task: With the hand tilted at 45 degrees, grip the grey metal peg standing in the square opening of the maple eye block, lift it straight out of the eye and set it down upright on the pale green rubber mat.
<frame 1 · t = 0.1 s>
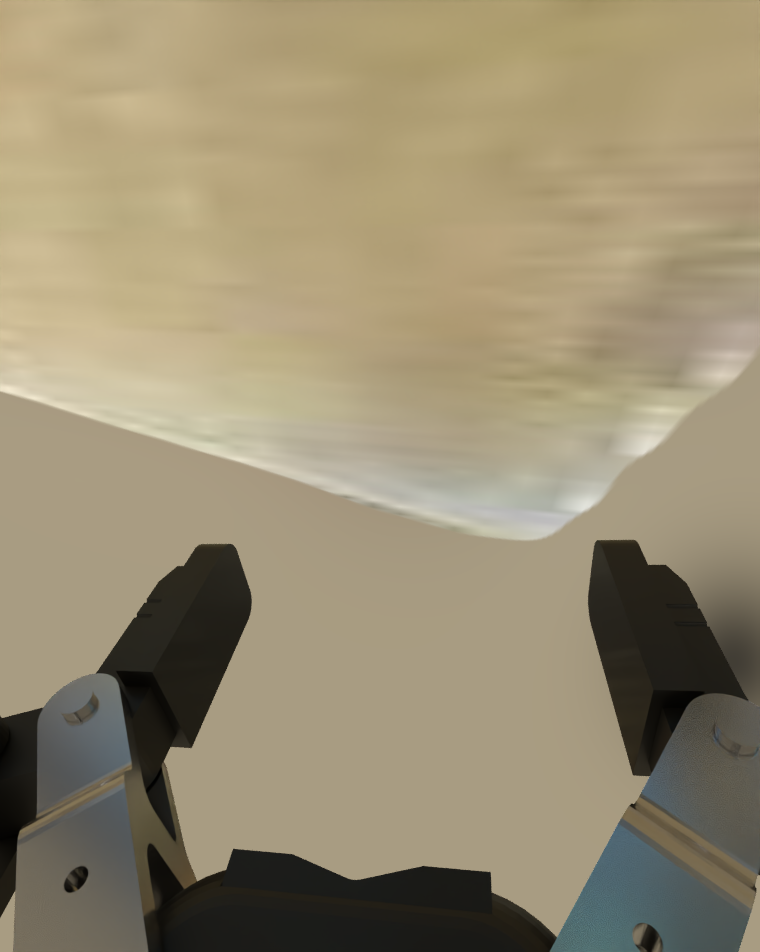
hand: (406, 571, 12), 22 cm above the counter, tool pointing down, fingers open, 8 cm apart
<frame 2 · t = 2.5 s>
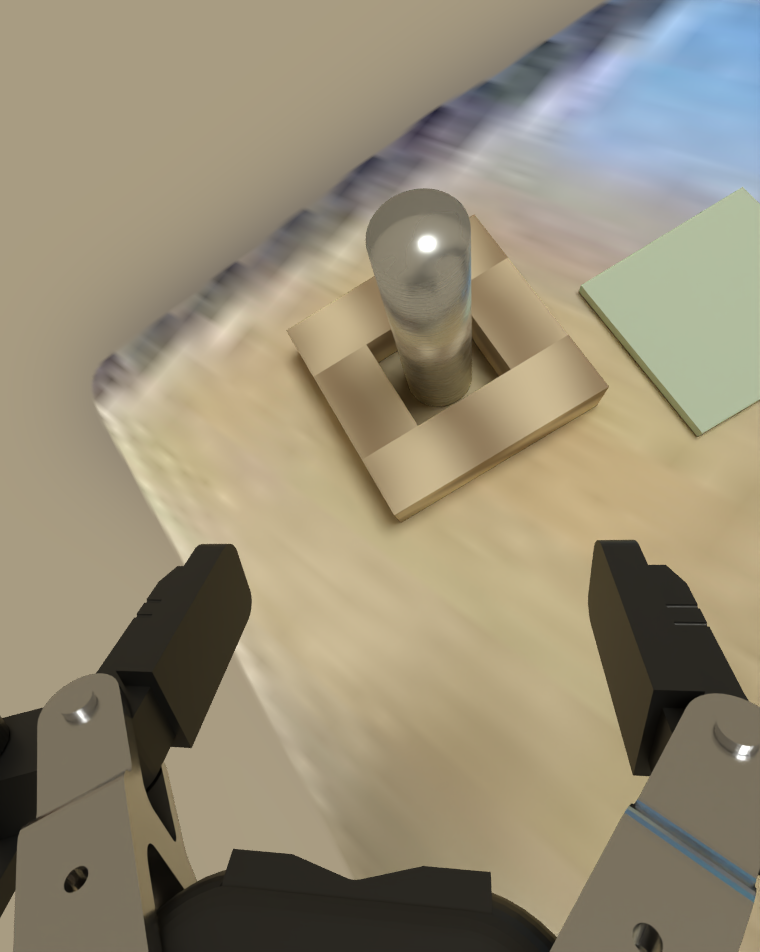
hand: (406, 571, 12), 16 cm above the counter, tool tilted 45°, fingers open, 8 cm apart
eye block: (439, 376, 29), on the counter
mat: (718, 310, 28), on the counter
peg: (431, 322, 24), in the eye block
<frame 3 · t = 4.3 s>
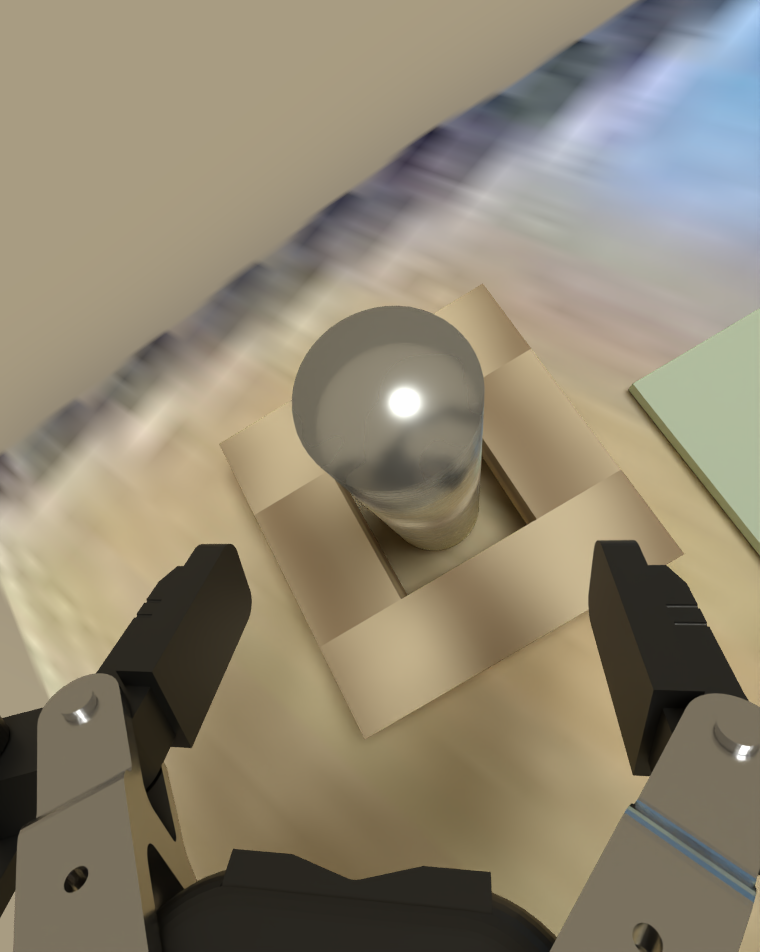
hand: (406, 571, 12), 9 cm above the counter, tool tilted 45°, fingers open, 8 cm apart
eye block: (433, 505, 21), on the counter
peg: (418, 470, 15), in the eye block
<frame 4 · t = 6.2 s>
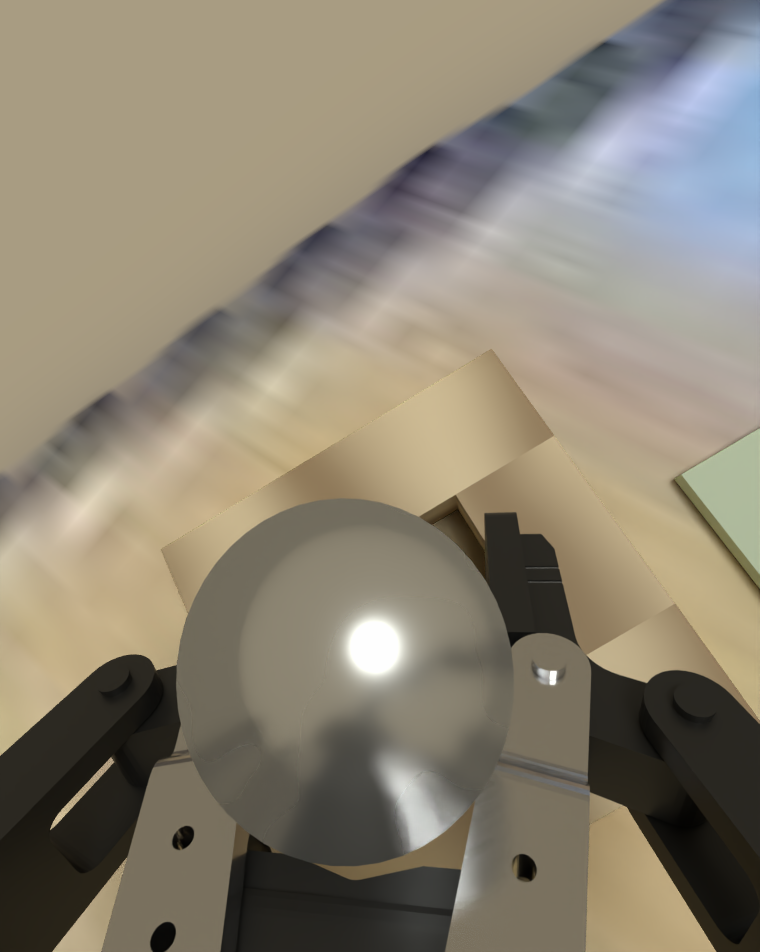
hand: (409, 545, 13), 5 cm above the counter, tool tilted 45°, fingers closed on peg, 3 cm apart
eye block: (430, 622, 17), on the counter
peg: (406, 633, 11), in the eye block, touching gripper
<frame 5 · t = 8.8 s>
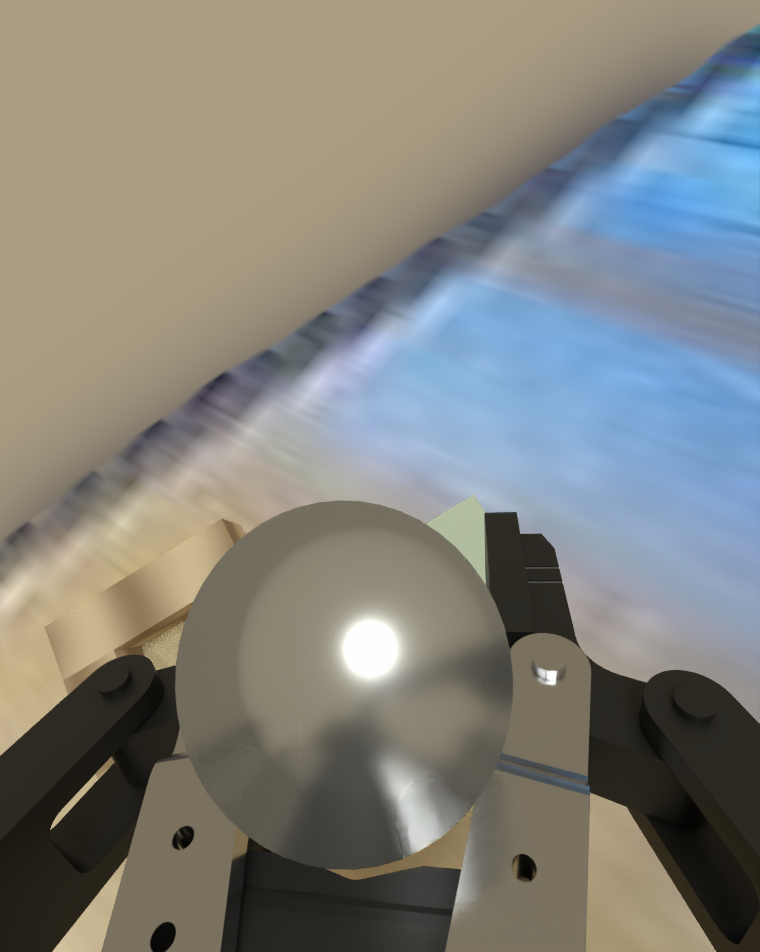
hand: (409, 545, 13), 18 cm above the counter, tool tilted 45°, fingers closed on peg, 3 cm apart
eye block: (196, 664, 31), on the counter
mat: (445, 618, 29), on the counter
peg: (406, 634, 11), point 19 cm above the counter, touching gripper
when the fingers open (7 cm above the counter, at t = 11.2 s): peg drops 1 cm, resting on mat.
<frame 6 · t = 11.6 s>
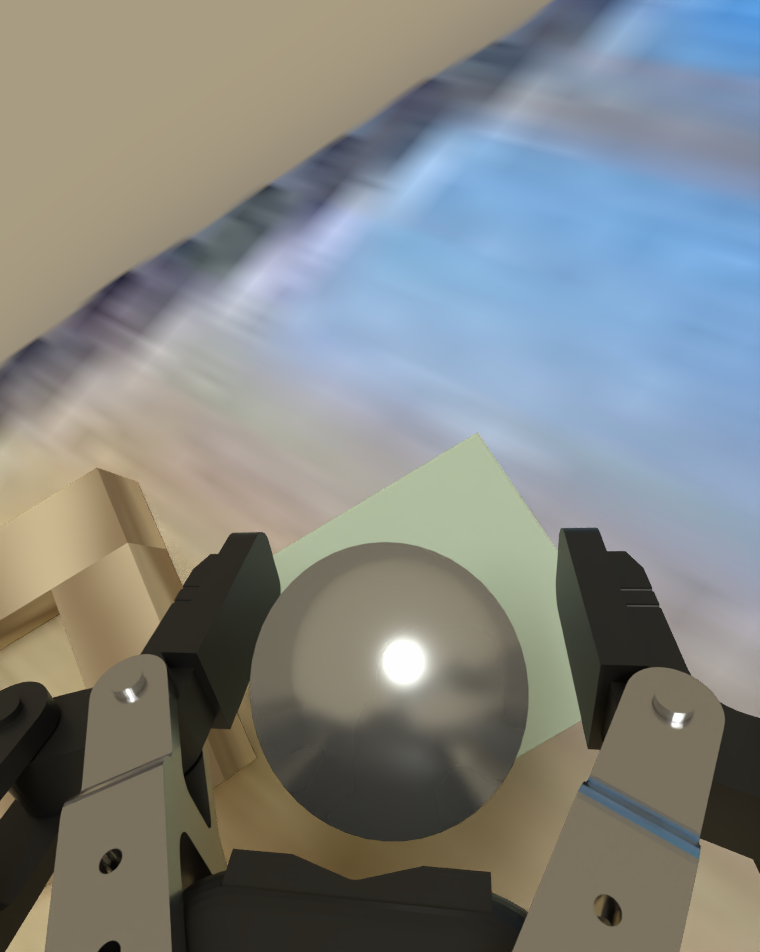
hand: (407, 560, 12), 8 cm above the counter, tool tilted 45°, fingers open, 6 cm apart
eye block: (63, 685, 21), on the counter
mat: (432, 620, 19), on the counter
peg: (419, 640, 13), on the mat, point 7 cm above the counter
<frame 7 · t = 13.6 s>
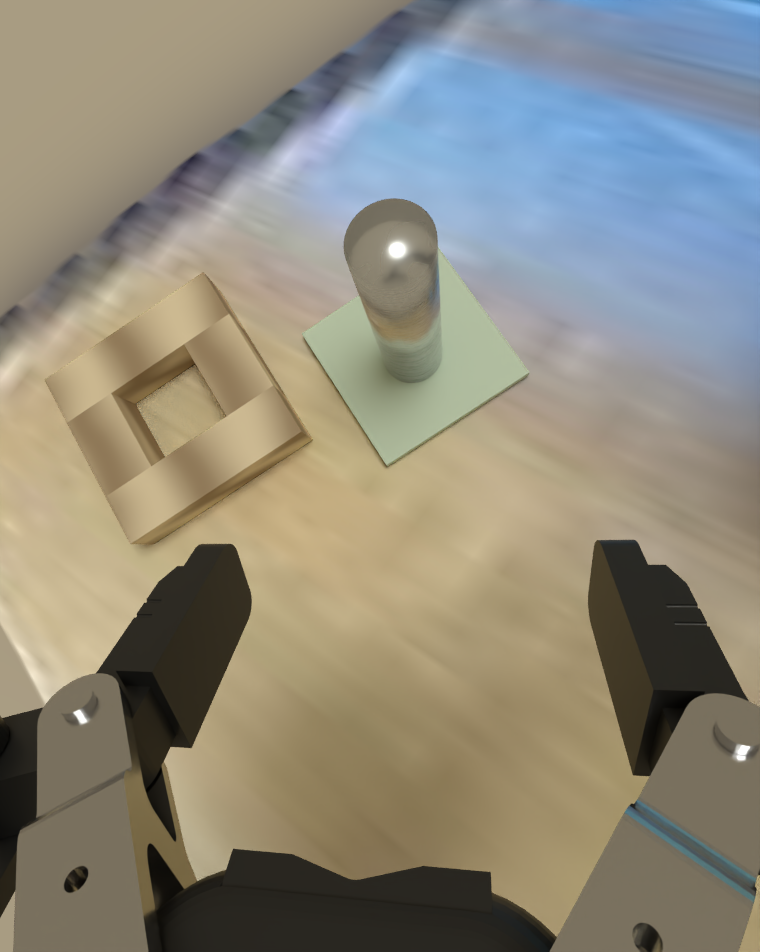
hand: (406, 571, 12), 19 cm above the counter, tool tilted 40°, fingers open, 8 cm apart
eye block: (188, 414, 34), on the counter
mat: (412, 355, 32), on the counter
peg: (403, 310, 26), on the mat, point 7 cm above the counter
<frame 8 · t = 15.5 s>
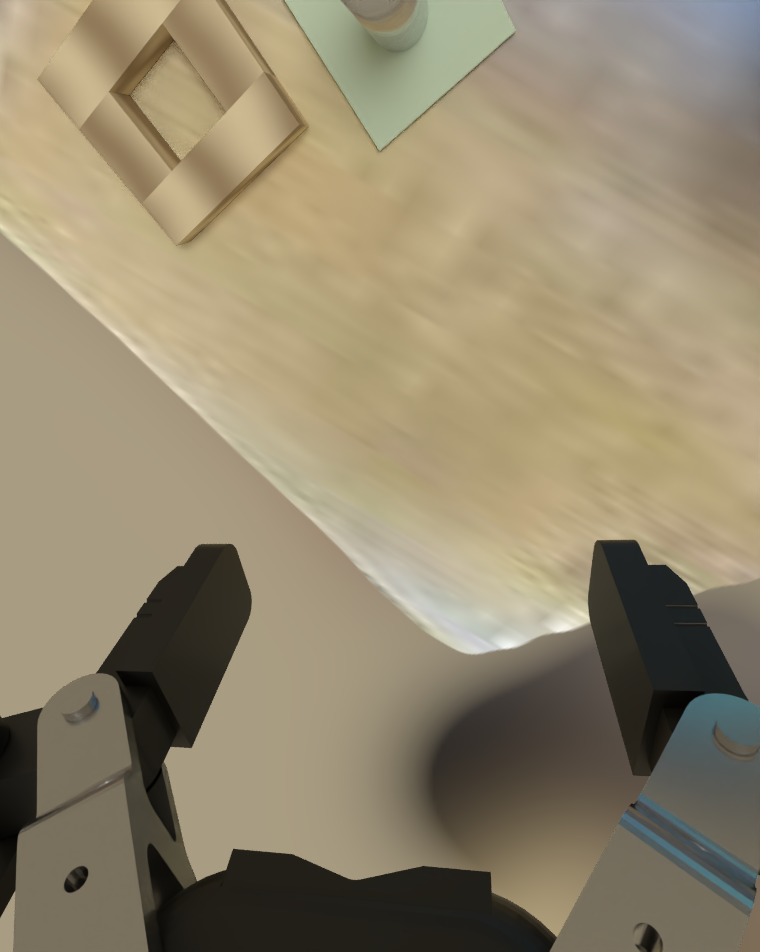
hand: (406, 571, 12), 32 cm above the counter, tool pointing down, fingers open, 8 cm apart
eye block: (184, 104, 35), on the counter
mat: (397, 12, 31), on the counter
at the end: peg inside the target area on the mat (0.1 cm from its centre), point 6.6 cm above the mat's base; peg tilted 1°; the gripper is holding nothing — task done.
